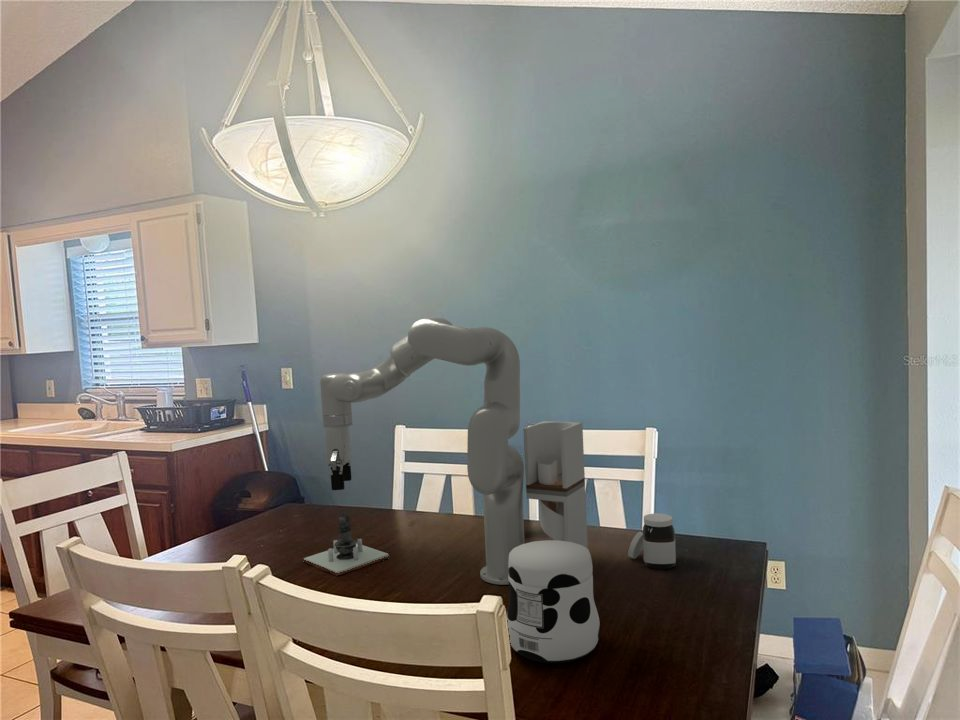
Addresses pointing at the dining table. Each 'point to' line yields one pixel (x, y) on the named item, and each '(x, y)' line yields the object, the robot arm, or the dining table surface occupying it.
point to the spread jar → (655, 542)
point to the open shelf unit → (557, 478)
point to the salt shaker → (345, 539)
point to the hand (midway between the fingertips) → (341, 485)
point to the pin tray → (336, 565)
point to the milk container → (552, 601)
